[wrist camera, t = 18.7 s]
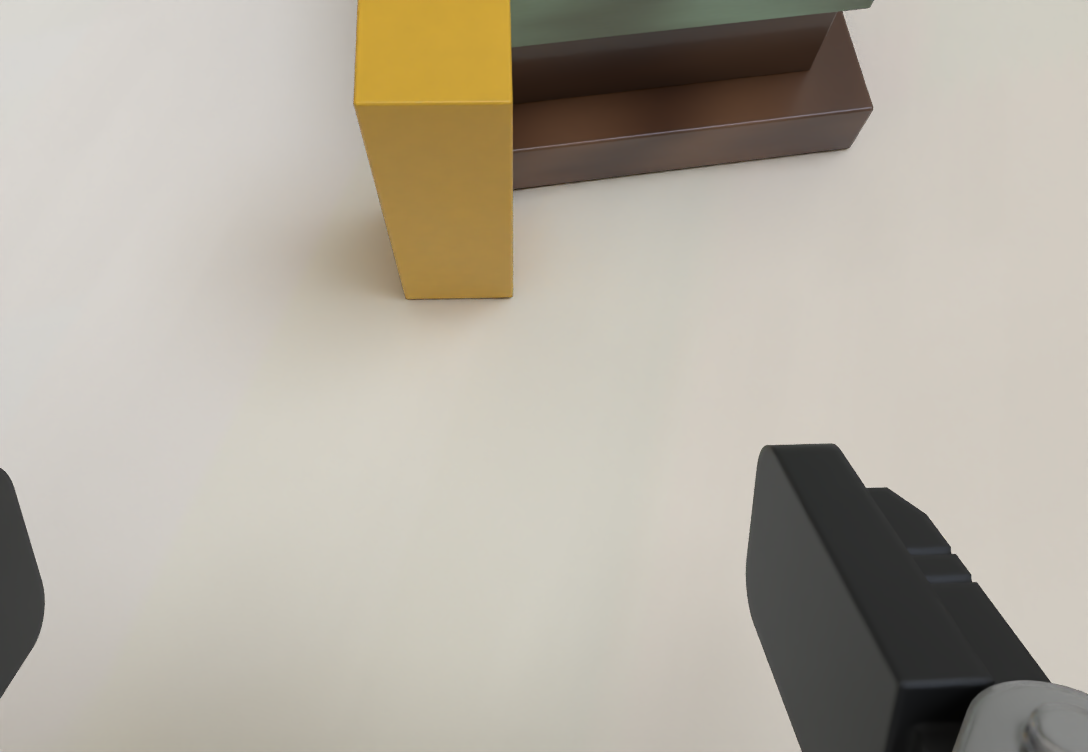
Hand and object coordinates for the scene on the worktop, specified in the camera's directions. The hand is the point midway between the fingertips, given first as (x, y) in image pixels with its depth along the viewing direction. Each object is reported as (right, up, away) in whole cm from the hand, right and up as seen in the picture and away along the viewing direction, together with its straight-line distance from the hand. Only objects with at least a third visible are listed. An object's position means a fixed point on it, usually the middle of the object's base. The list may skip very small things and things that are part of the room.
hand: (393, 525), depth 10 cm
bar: (-1, +5, +16) cm, 17 cm away
